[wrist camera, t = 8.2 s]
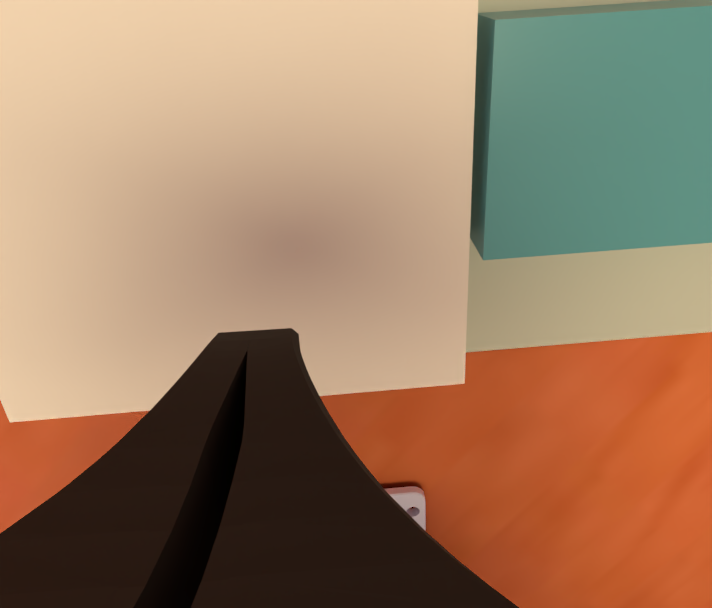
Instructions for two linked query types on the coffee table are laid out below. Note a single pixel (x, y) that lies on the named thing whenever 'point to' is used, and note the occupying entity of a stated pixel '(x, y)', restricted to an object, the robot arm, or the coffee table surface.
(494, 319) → the mat
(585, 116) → the teal rectangular block
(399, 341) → the cream flat square slab
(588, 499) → the coffee table surface
